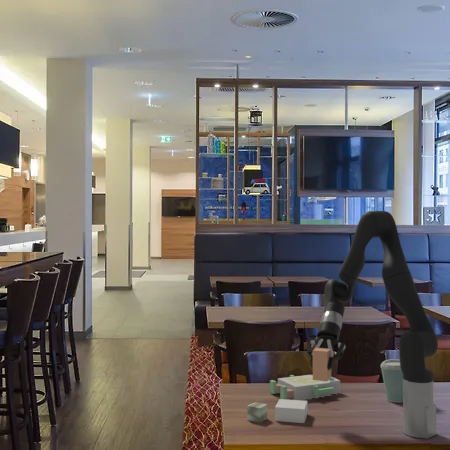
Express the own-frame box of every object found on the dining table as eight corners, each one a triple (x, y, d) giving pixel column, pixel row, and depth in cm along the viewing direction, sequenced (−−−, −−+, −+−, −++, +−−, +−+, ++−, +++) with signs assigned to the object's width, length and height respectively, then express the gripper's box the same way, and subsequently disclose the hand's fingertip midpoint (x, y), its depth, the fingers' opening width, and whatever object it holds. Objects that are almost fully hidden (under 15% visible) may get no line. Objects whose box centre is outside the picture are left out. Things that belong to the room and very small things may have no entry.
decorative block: (318, 370, 245) (346, 381, 227) (319, 385, 245) (346, 397, 227) (265, 376, 235) (289, 388, 217) (265, 391, 235) (289, 405, 217)
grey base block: (307, 415, 205) (307, 400, 205) (304, 424, 195) (304, 409, 195) (279, 412, 207) (279, 398, 208) (275, 421, 198) (275, 407, 198)
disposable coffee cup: (399, 406, 214) (399, 365, 214) (375, 400, 222) (374, 361, 222) (415, 400, 221) (414, 361, 221) (390, 395, 229) (390, 357, 229)
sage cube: (267, 419, 200) (267, 404, 200) (259, 422, 196) (259, 408, 196) (255, 416, 203) (255, 402, 203) (247, 420, 199) (247, 405, 199)
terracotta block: (331, 378, 197) (331, 348, 197) (327, 381, 193) (327, 351, 193) (317, 376, 200) (317, 347, 200) (312, 379, 195) (312, 350, 195)
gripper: (308, 319, 206) (297, 359, 195) (348, 321, 200) (339, 364, 189) (313, 331, 211) (302, 371, 200) (352, 334, 205) (343, 376, 194)
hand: (320, 367), depth 195 cm, fingers closed on terracotta block, 5 cm apart
